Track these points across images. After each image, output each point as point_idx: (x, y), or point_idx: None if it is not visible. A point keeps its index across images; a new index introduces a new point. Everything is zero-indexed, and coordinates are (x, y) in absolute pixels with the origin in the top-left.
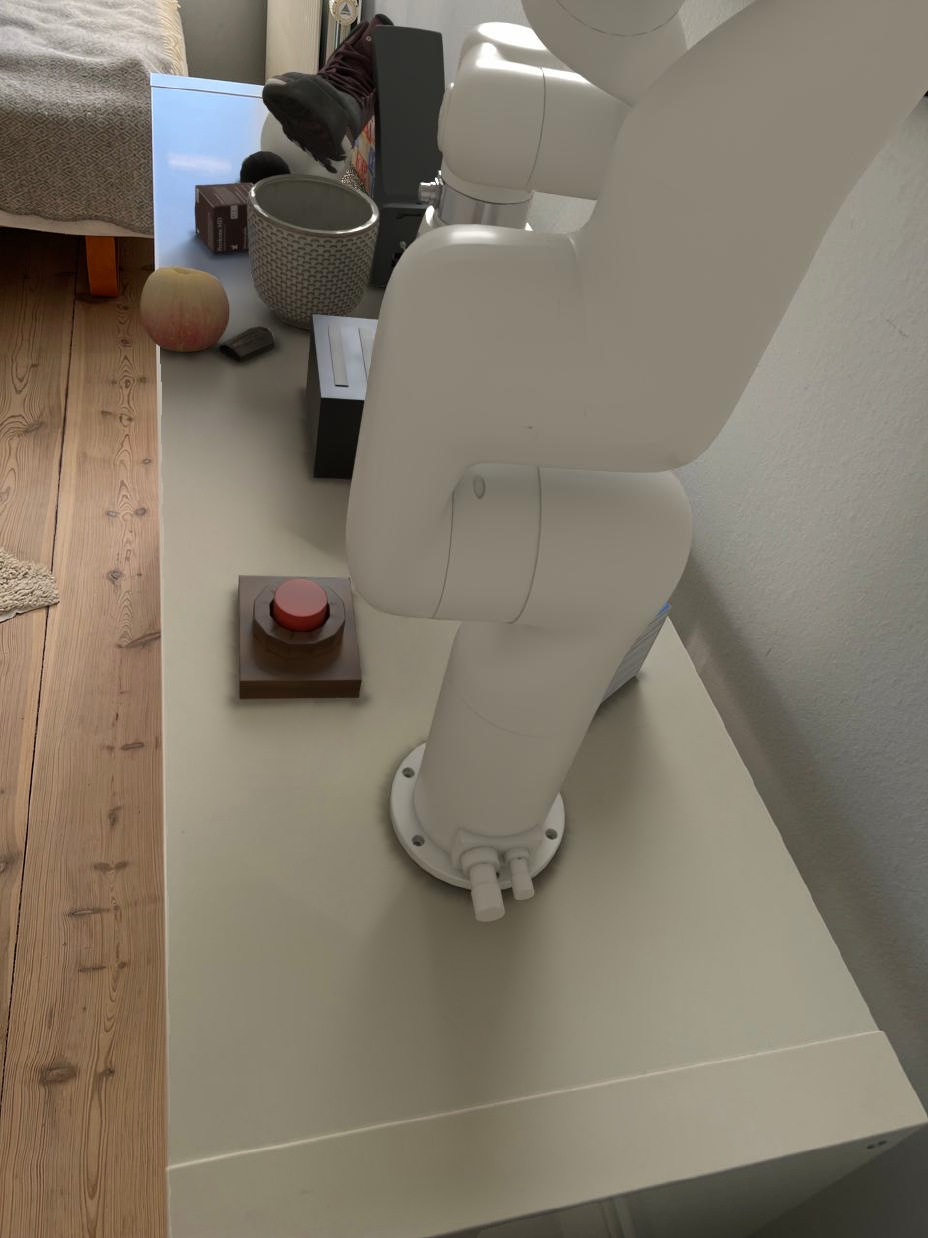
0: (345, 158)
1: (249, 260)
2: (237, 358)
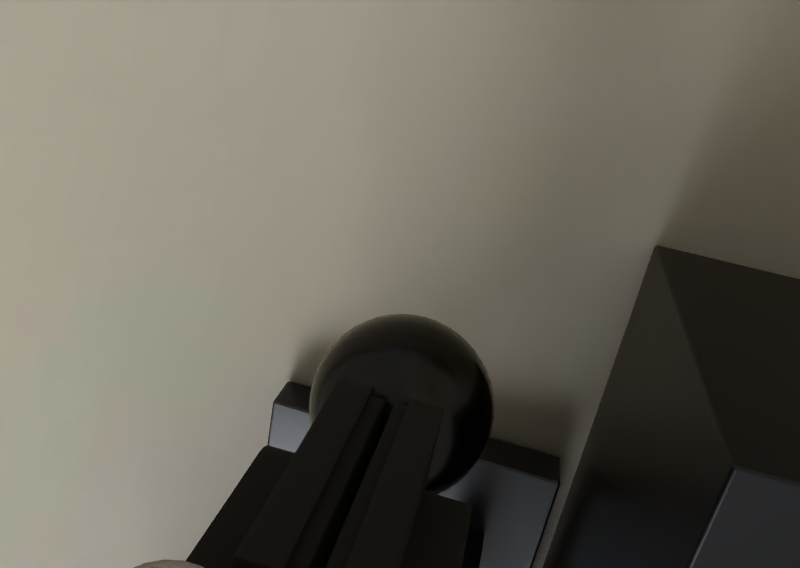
0: None
1: None
2: None
